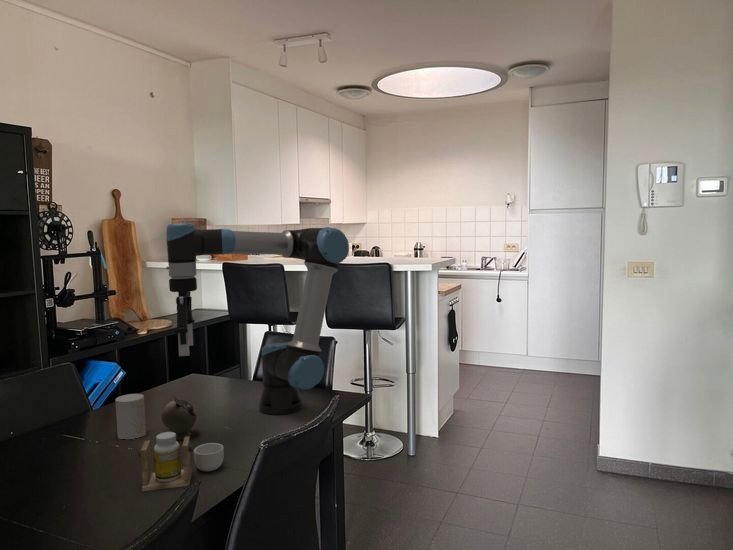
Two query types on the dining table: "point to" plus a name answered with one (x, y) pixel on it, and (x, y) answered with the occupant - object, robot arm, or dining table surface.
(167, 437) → the pill bottle
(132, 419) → the white cylinder
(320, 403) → the dining table surface
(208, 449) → the teacup
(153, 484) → the holder
